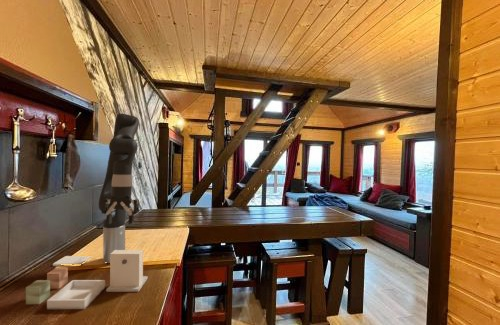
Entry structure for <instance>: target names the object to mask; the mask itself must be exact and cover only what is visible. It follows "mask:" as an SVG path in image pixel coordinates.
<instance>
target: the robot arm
mask: <svg viewBox="0 0 500 325" xmlns="http://www.w3.org/2000/svg"><path fill="white" fill-rule="evenodd" d="M139 120H140V119H139V118H138V117H137V116H135V115H131V114H125V113H121V112H120V113H117V115H116V117H115V119H114V127H113V128H114V129H113V135H112V137H113V138H111V139H110V141H109V144H108V148H109V149H108V150H109V157H108V160H107V167H106V173H105V177H104V182H103V185H102V187H101V188H102V189H101V191H100V195H99V199H98V208H99V209H98V210H100V212H101V214H104V215H106V217H105V219H104V220H103V222H102V232H103V233H102V237H103V238H102V241H103V242H102V245H103V246H102V247H103V248H102V251H103V252H102V254H103V256H102V258H103V259H102V260H103V261H104V262H107V263H110V254H111V253H112V252H113V251H114V250H126V217H127V214H128V225H132V224H133V223H134V221H135V215H136V214H139V212H140V199H138V198H136V199H132V193H133V192H132V189H133V186H132V185H133V178H132V176H133V163H134V160H135V157H136V155H137V151H138V148H139V147H138V142H137V140H135V135H136V134H137V132H138V130H139V126H140V125H139V124H140V121H139ZM131 204H132V205H133V206H132V205H131ZM113 213H114V215H113ZM103 261H102V262H103ZM104 262H103V263H104Z"/></svg>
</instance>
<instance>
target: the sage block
mask: <svg viewBox="0 0 500 325" xmlns="http://www.w3.org/2000/svg"><path fill="white" fill-rule="evenodd" d="M50 297H51V289H50V280H47V279H45V280H44V279H39V280H35V281H33V282H32V283H31V284H29V285H27V286H26V287H25V305H40V304H42V303H43V302H45V301H47V300H48V299H49V298H50Z"/></svg>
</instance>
